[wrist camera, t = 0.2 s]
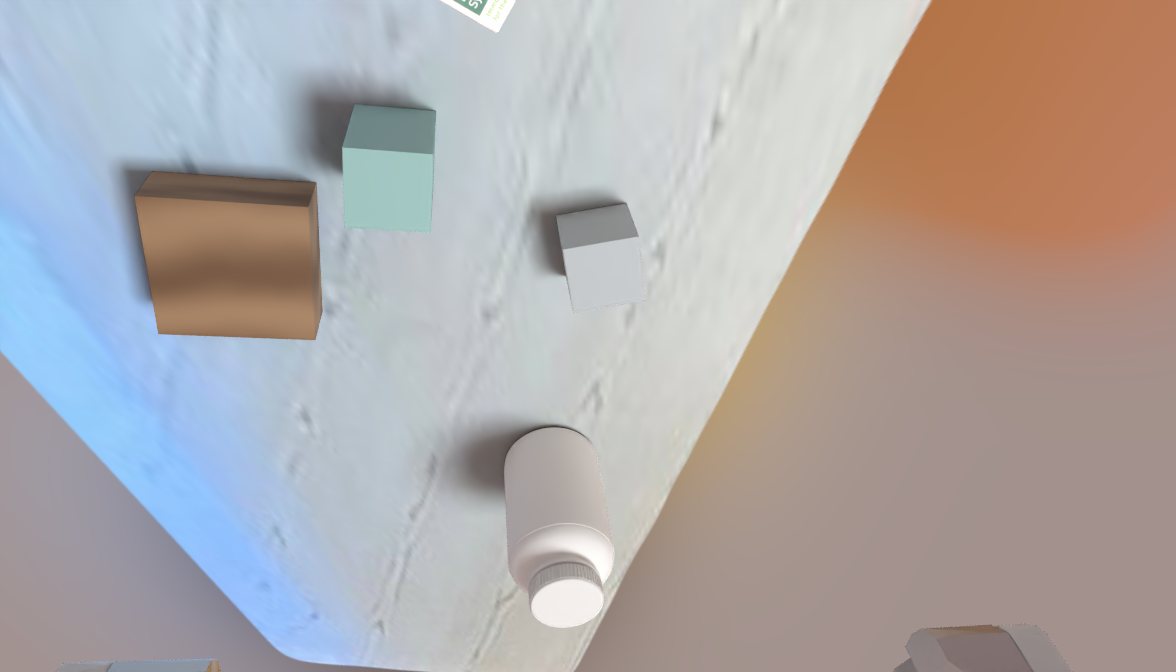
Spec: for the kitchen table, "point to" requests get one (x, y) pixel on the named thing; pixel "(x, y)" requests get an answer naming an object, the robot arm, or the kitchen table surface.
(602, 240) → the grey block
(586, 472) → the pill bottle
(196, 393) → the kitchen table surface
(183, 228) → the base block
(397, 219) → the teal block
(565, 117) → the kitchen table surface
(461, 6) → the syrup box
